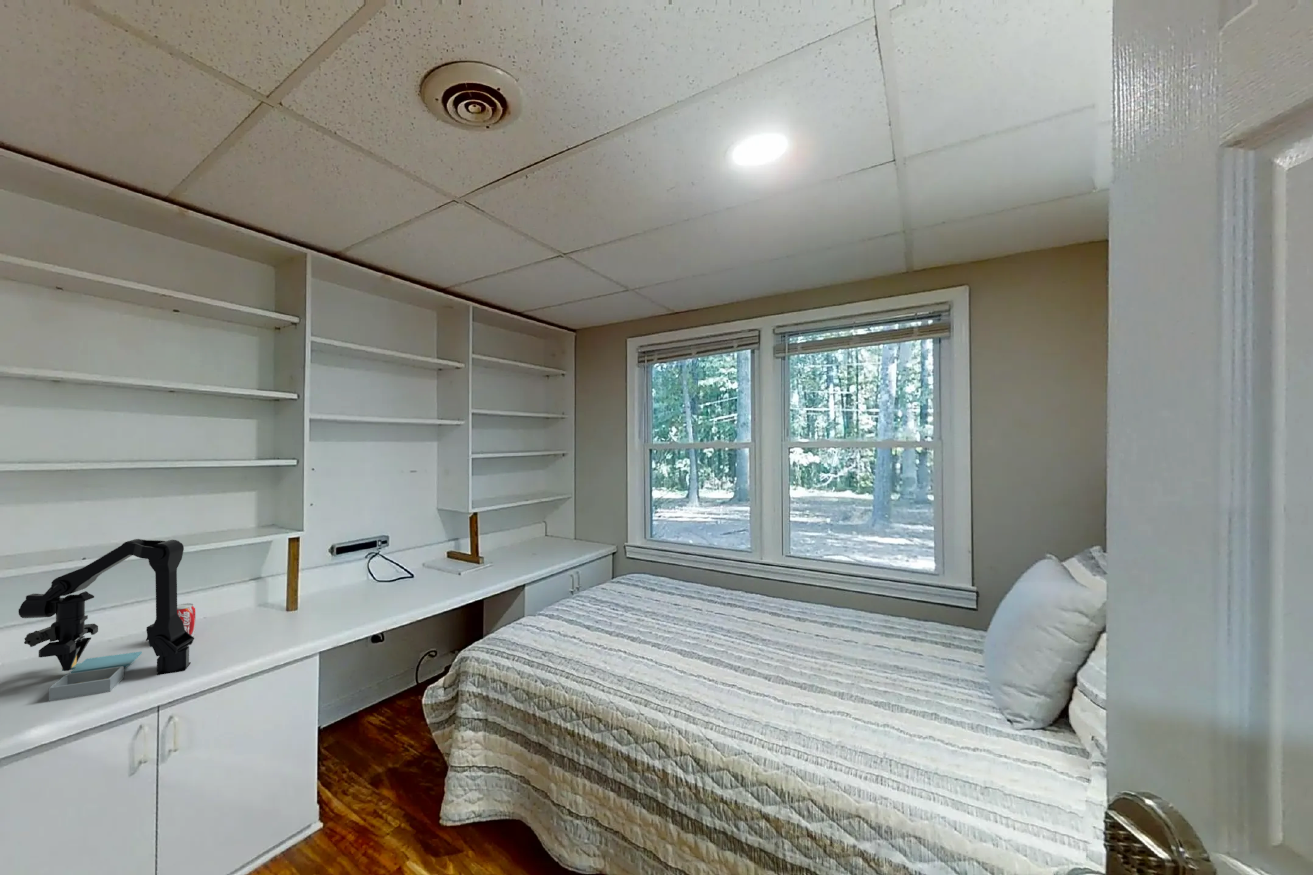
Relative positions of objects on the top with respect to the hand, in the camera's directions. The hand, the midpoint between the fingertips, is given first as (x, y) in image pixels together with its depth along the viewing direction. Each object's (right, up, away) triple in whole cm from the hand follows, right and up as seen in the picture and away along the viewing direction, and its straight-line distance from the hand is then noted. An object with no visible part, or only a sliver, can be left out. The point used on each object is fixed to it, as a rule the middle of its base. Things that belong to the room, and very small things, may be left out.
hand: (69, 668), depth 155 cm
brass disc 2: (+16, -3, -6) cm, 17 cm away
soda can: (+8, -3, +28) cm, 29 cm away
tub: (+13, -3, -7) cm, 16 cm away
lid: (+6, -1, +3) cm, 7 cm away
